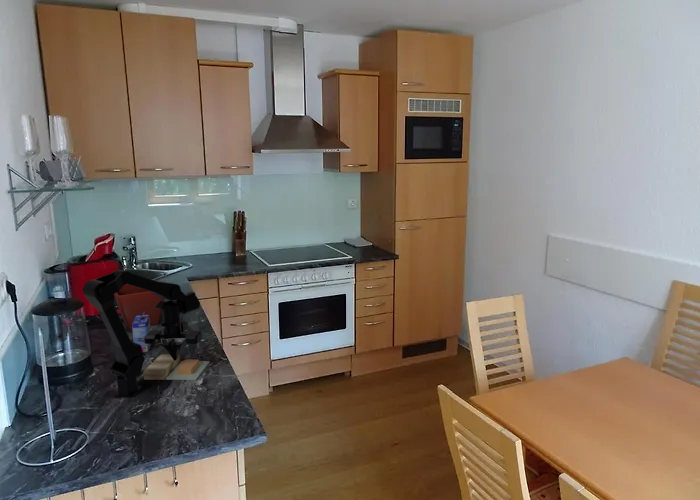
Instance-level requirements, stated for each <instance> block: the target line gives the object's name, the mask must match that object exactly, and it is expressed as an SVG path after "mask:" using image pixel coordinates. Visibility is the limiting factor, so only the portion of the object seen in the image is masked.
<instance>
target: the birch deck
mask: <svg viewBox="0 0 700 500" xmlns="http://www.w3.org/2000/svg"><path fill="white" fill-rule="evenodd" d="M180 362H181V355H180V353H179V355H178V358H177V360H173V358H172V357H171V355H170V354H169V353H168V354H166V353H164V354H163V353H161V354H160V355H159V356H157V358H155V360H153V362H152V363H150V364H149V365H148V366H147V367H146V368H145V369H144V370H143V379H144V380H155V381H156V380H160V381H161V380H166V378H167V377H168V376H169V374H170V373H171V372H172V371H173V370H174V369H175V368H176V367H177V366H178V364H179V363H180Z"/></svg>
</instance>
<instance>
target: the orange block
mask: <svg viewBox="0 0 700 500" xmlns="http://www.w3.org/2000/svg"><path fill="white" fill-rule="evenodd" d="M182 361H183V363H182V364H181V365H180V366H179V367H178V368H177V375H192V373H193V372H194V371H195V370H196V368H197V367H198V366H199V361H200V359H184V360H182Z"/></svg>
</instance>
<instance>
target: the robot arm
mask: <svg viewBox="0 0 700 500" xmlns="http://www.w3.org/2000/svg"><path fill="white" fill-rule="evenodd" d="M126 284H128V285H131V286H135V287H138V288H141V289H145V290H148V291H150V292H152V293H153V294H155V295H156V296H158V297H160V298H164V301H160V302H159V303H158V304H157V305H156V308H158V309H162V314H161V316H162V323H161V327H163V332H162V330H151V331H150V332H149V333H148V334H147V335H145V337H144V343H145V344H151V345H153V344H154V343H155V342H156V340H159V341H160V340H161V343H160V347H163V348H164V349H165V350H166V351H167V353H168V354H170V355H171V357H172V358H173V360H177V358H178V355H179V354H180V351H181V348H182V346H183V345H184V343H186V344H188V345H198V344H199V342H200V341H201V340H202V339H203V332H202V331H201V330H190V331H189V332H188V333H185V331H188V324H189V323H188V321H183V318H182V317H181V314H182V315H187V314H189V313H192V312H194V311H197V310H199V309H200V307H201V302H200V300H199V298H198V297H197V295H196V292H195V291H190V292H186V293H184V292H183V291H182V288H181V286H180V285H179V284H178V283H172V282H168V281H161V280H154V279H150V278H148V277H144V276H141V275H138V274H135V273H132V272H130V271H128V270H124V269H117V270H115V271H113V272H111V273H108V274H105V275H102V276H99V277H97V278H95V279H90V280H88V281H86V282H85V284H84V285H83V288H82V289H81V291H82V294H83V296H84V297H85V298H86V300H87V301H88V302H89V303H90V304H91V305H92V306H93V307H94V309H96V310H97V311H98V314H99V315H100V318H101V320H102V321H103V324H104V326H105V328H106V330H107V332H108V334H109V336H110V338H111V340H112V343H113V344H114V347H115V348H114V355H115V360H114V362H113V363H112V365H111V367H110V368H109V371H110V373H111V375H115V376H116V385H117V391H116V392H115V393H114V395H113V397H114V398H124V397H125V398H127V397H128V398H132V397H135V396H136V395H137V394H138V393H139V391H141V390H142V389H143V386H142V385H138V376H141V373H142V369H143V365H144V363H145V360H146V359H145V356H146V352H143V351H142V347H141V345H140V344H137V343H134V341H132V340H131V339H130V337H129V334H128V333H127V332H128V331H127V330H126V328H125V325H124V323H123V321H122V319H121V317H120V315H119V313H118V311H117V309H116V307H115V302H116V299H115V295H114V294H115V293H116V292H118V291H119V290H120V289H121V288H122V287H123V286H124V285H126ZM165 300H167V301H165Z"/></svg>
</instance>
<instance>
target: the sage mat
mask: <svg viewBox="0 0 700 500" xmlns="http://www.w3.org/2000/svg"><path fill="white" fill-rule="evenodd" d="M183 361H184V360H180V363H179V364H178V365H177V366H176V367H175V369H174V370H173V371H172V372H171V373H170V374H169V375H168V376H167V377H166V378H165V380H169V381H171V380H172V381H174V380H175V381H177V380H178V381H181V380H182V381H187V380H188V381H196V380H197V379H198V378H199V377H200V375H202V373H203V372H204V371H205V369H206V368H207V367H208V365H209V364H210V361H208V360H207V361H206V360H199V366H198V367H197V368H196V370H195V371H194V372H193V373H192V375H177V368H178V367H179V366H180V365H181V364H182V363H183Z"/></svg>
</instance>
